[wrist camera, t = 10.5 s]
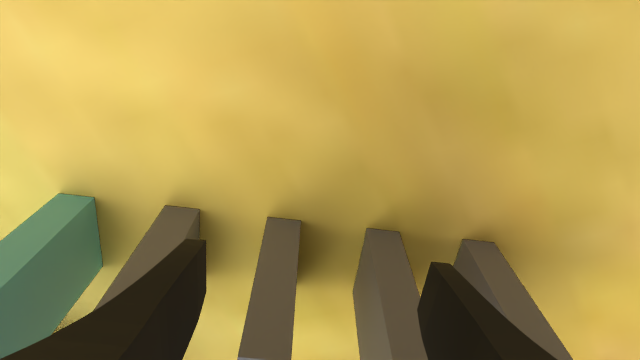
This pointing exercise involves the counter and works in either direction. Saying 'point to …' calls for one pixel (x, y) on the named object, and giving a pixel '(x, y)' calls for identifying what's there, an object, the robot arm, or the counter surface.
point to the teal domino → (46, 269)
